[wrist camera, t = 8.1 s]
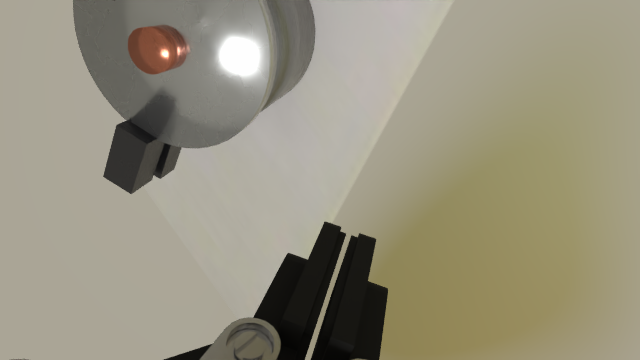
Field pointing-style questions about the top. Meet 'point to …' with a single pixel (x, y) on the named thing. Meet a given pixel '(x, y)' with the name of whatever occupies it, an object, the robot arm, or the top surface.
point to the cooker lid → (175, 73)
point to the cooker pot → (292, 59)
